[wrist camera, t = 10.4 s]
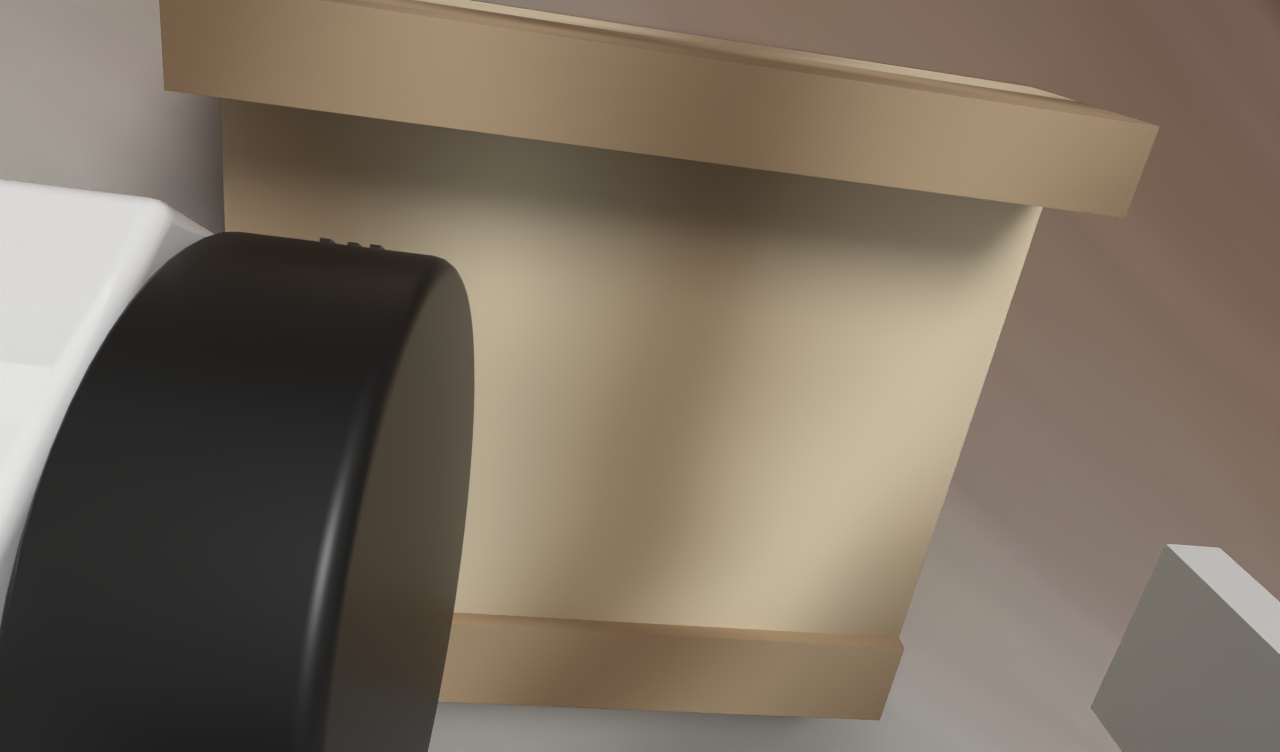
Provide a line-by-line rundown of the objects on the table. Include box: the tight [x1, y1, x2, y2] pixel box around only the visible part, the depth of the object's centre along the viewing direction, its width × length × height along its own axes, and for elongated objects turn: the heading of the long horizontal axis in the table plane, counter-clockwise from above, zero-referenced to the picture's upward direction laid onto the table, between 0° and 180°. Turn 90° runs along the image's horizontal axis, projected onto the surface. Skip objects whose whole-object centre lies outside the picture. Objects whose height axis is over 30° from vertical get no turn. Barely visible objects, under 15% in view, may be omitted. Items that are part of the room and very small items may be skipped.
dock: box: [159, 0, 1159, 720], centre depth 15 cm, size 12×12×4 cm
